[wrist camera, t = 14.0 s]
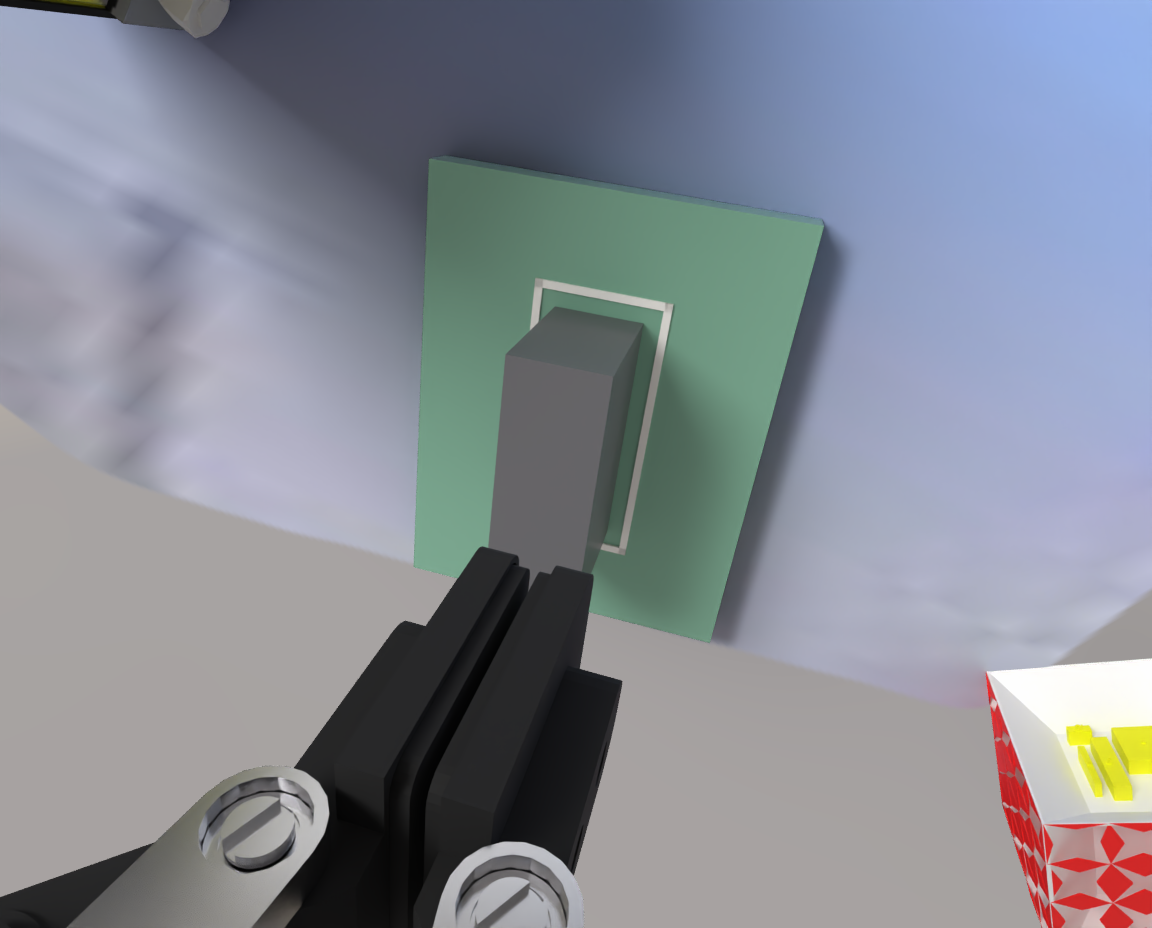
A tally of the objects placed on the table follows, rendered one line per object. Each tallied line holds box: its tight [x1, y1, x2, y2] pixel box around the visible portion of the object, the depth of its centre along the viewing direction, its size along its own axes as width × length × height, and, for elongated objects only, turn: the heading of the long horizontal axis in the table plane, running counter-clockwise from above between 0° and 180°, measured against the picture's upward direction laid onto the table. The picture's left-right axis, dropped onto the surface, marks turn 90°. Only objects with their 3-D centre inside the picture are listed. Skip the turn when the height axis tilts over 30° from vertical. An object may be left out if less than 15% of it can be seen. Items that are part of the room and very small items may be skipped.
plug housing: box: [488, 306, 644, 591], centre depth 28 cm, size 3×9×6 cm, turn 172°
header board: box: [414, 155, 824, 643], centre depth 30 cm, size 14×18×5 cm
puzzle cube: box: [986, 658, 1152, 928], centre depth 30 cm, size 8×8×8 cm
